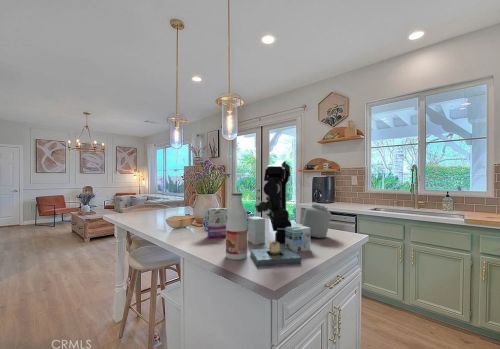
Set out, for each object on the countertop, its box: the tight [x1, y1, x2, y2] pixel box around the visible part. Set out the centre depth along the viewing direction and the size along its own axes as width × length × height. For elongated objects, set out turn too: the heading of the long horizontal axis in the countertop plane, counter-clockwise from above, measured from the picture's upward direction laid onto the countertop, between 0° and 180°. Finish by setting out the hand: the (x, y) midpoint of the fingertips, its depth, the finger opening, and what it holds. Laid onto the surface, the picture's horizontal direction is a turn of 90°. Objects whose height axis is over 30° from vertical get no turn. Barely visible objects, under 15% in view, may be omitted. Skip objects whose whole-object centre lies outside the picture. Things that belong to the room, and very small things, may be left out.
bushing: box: [268, 240, 281, 256], centre depth 101 cm, size 4×4×7 cm
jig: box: [250, 246, 302, 268], centre depth 101 cm, size 18×14×2 cm
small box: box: [247, 216, 266, 245], centre depth 127 cm, size 8×6×13 cm
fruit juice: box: [225, 191, 248, 261], centre depth 104 cm, size 9×9×28 cm
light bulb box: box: [284, 224, 311, 253], centre depth 115 cm, size 11×7×11 cm, turn 117°
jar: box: [301, 194, 332, 239], centre depth 139 cm, size 19×15×25 cm
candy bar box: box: [207, 207, 228, 239], centre depth 138 cm, size 11×5×16 cm, turn 104°
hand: (274, 231), depth 101 cm, fingers closed
